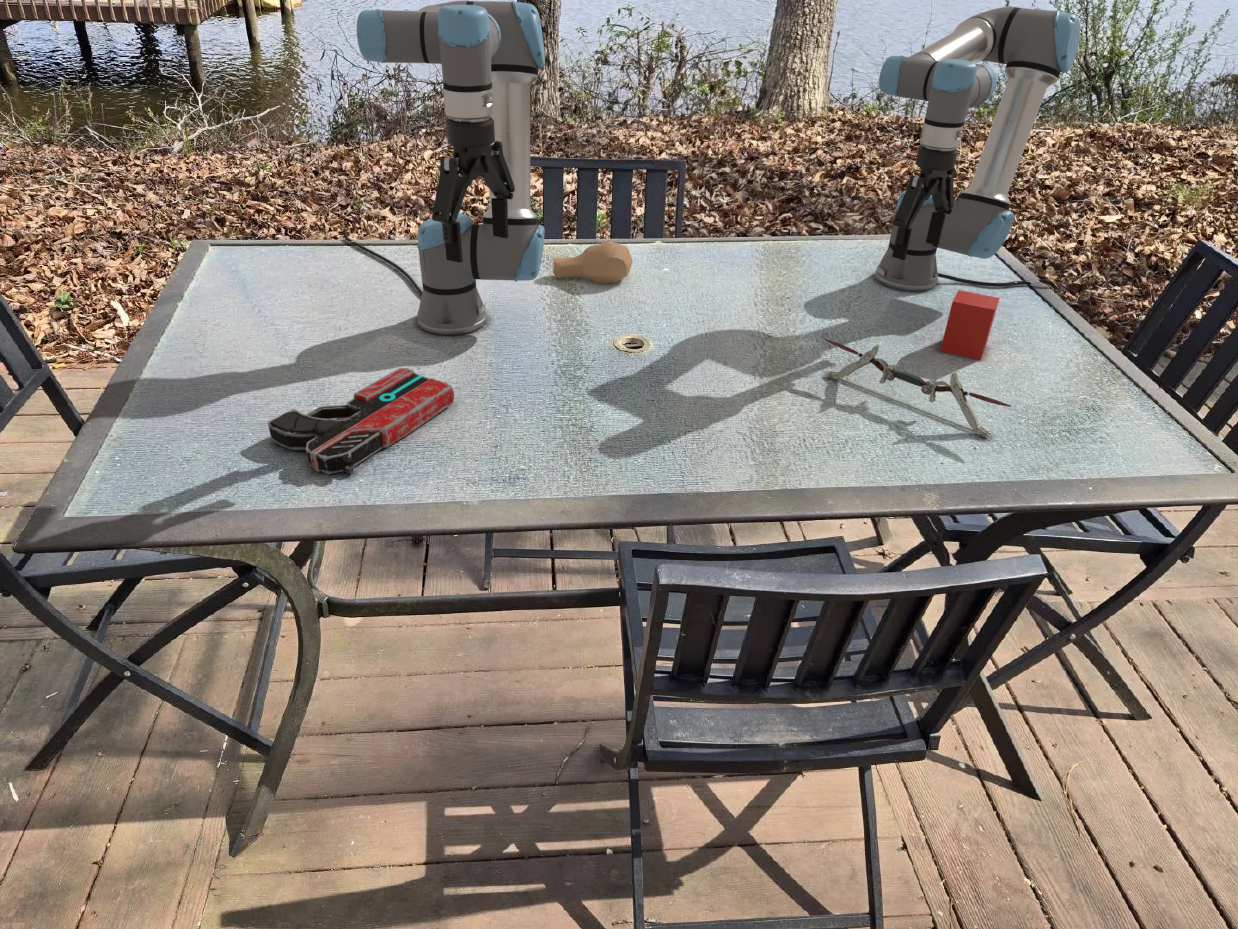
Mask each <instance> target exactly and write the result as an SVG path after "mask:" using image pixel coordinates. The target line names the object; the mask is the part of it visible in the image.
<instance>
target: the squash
mask: <svg viewBox="0 0 1238 929" xmlns="http://www.w3.org/2000/svg"><path fill="white" fill-rule="evenodd" d="M632 264H633V258H632V255H631V254H630V249H629V247H628V246H627V245H624V244H622V243H621V244H620V243H617V242H614V241H610V240H608V241H605V242H602V243H599V244H598V243H597V244H593V245H590V246H588V247H587V248H585V249H584V250H583V252H581V253H580V254H578V255H576V256H571V257H570V256H569V257H555V258H553V268H552V273H553V275H554V276H555V279H562V278H570V277H578V278H579V277H580V278H586V279H588V280H590V281H591V282H595V283H598V284H615V283H616V282H618V281H620V280H622V279H625V278H626V277H628V276H629V274H630V272H631V268H632Z"/></svg>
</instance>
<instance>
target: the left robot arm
mask: <svg viewBox="0 0 1238 929" xmlns="http://www.w3.org/2000/svg"><path fill="white" fill-rule="evenodd" d="M356 40H357V45H358V49H359V52H360V55H361V56H362V58H363V59H364V60H366V61H368V62H373V63H374V62H375V63H381V64H386V63H387V64H391V63H393V64H394V63H395V64H396V63H397V64H433V65H441V75H442V86H443V87H442V92H443V93H442V94H443V106H444V108H443V109H444V114H445V115H446V116H447V118H446V120H445V127H446V139H447V142H448V144H450V145H451V147H452V148H453V152H452V153H453V154H452V156H443V155H442V156H441V157H440V159H439V160H440V161H439V177H438V181H437V186H436V193H435V197H434V203H433V209H432V213H431V218H428V219H427V220H424V221H423V222H422V223H421V224H420V225H419V226H418V229H417V247H416V248H417V250H418V258H419V259H418V260H419V267H420V275H421V276H420V278H421V284H422V289H421V287H419V285H417V283H416V281H415V280H414V279H413V278H412V277H411V275H409V274H408V272H406V271H405V270H404V269H403V268H402V267H400V266H399V265H398V264H396V263H395V262H394V261H392V260H389V259H388V258H386V257H385V256H383V255H382V254H379V253H377V252H375V251H373V250H371V249H370V248H367V247H365V246H363V245H361V244H360V243H358V242H356V241H354V240H353V239H351V238H350V237H348V235H347V229H346V228H343V231H342V232H343V233H342V234H343V238H344V239H345V240H346V241H347V242H349V241H354V242H349V243H350V244H352V245H353V246H356V247H358V248H359V249H361V250H363V251H365V252H367V253H368V254H370V255H372V256H375V257H376V258H378V259H380V260H382V261H383V262H385V263H387V264H389V265H391V266H392V267H393V268H395V269H396V270H398V271H399V272H400V273H402V274H403V276H404V277H406V278H407V279H408V281H409V282H410V283H411V284H412V286H413V287H414V288H415V290H416V291H417V293H418V294H420V295H421V297H420V302H419V305H418V310H417V316H416V318H417V325H418V326H419V328H420V329H421V330H423V331H424V332H427V333H430V334H433V335H440V336H459V335H465V334H469V333H473V332H476V331H477V330H480V329H481V328H483V327H484V326H485V325H486V323H487V320H488V316H487V310H486V304H485V303H484V302H483V299H482V298H481V295H480V293H479V291H478V288H477V280H482V281H485V280H487V281H512V282H513V281H514V282H518V281H520V282H523V281H533V280H535V279H536V278H537V277H538V276H539V273H540V270H541V266H542V260H543V254H544V245H545V232H546V228H545V227H544V226H543V225H542V224H539V222H538V221H539V218H538V215H537V214H536V213H535V212H534V211H533V210H532V209H531V86H532V84H533V83H534V82H535V81H536V80H538V69H543V68H544V67H545V65H546V57H545V56H546V55H545V54H546V53H545V45H544V35H543V30H542V22H541V19H540V13H539V11H538V9H537V7H536V6H535V5H534V4H532V3H529V2H520V1H515V0H512V1H499V0H498V1H496V0H495V1H493V0H492V1H491V0H490V1H489V0H488V1H486V0H485V1H484V0H453V1H447V2H442V3H437V4H430V5H426V6H423V7H421V8H420V9H418V10H394V9H393V10H390V9H389V10H388V9H379V8H378V9H364V10H361V11H360V12H359V13H358V16H357V19H356ZM479 177H480V178H481V179H482V181H483V182H484V183H485V185H486V186H487V187H488V190H489V207H488V208H487V210H486V211H485V212H484V213H483V214H482V223H474V221H473V219H472V217H471V216H470V215H468V214H463V213H460V210H461V208H462V205H463V202H464V200H465V197H466V194H467V191H468V188H469V187H470V186H471V185H472V184H473V181H475V180H477V179H478V178H479Z"/></svg>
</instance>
